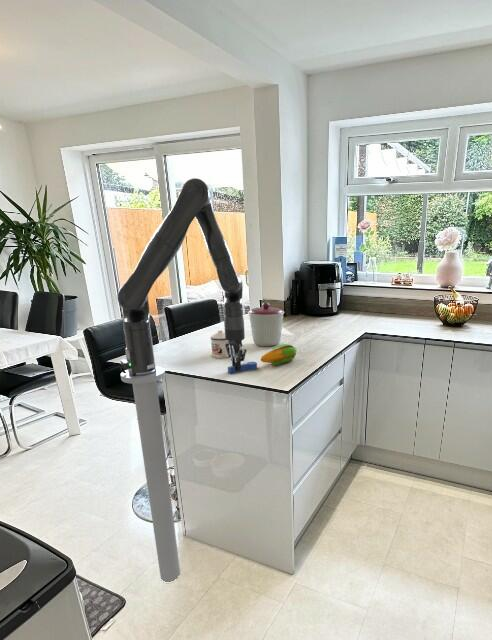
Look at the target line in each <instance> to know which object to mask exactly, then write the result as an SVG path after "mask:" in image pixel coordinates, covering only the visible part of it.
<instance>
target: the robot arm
mask: <svg viewBox="0 0 492 640" xmlns="http://www.w3.org/2000/svg"><path fill="white" fill-rule="evenodd" d="M211 198H212V196H211V191H210V188H209V186H208V185H207V183H206V182H205V181H203V180H202V179H200V178H198V177H197V178H196V177H195V178H194V177H193V178H189V179H188V180H186V181H185V182H184V184H183V185H182V186H181V190H180V191H179V194H178V196H177V198H176V200H175V202H174V204H173V206H172V208H171V209H170V211H169V213H168V214H167V215H166V216H165V218H164V219H163V220H162V222H161V223H160V225H159V226H158V228H157V229H156V230H155V232H154V234H153V236H152V237H151V238H150V240H149V242H148V243H147V245H146V246H145V249H144V251H143V253H142V254H141V257H140V259H139V261H138V262H137V265H136V267H135V269H134V270H133V272H132V273H131V275H130V276H129V277H128V279H127V280H126V281H125V282H124V284H123V285H122V286H121V287H120V288H119V289H118V291H117V301H118V304H119V306H120V307H121V309H122V327H123V334H124V341H125V346H126V348H124V352H125V357H126V359H121V360H120V366H119V371H120V372H121V373H122V372H123V373H126V371H125V370H128V372H129V373H130V374H131V375H132V376H143V375H149V374H152V373H155V372H156V368H155V366H156V361H155V354H154V344H153V337H152V329H151V313H150V303H149V296H148V295H149V294H150V291H151V289H152V288H153V285H154V284H155V283H156V281H157V280H158V278H159V277H160V276H161V275H162V274H163V273H164V272H165V270H166V269H167V268H168V267H169V265H170V264H171V263H172V261H173V260H174V259H175V257H176V255H177V253H178V252H179V250H180V249H181V246H182V245H183V242H184V240H185V238H186V235H187V233H188V230H189V228H190V226H191V224H192V223H193V221H194V219H196V221H197V223H198V225H199V227H200V230H201V233H202V235H203V239H204V242H205V245H206V248H207V251H208V253H209V256H210V258H211V260H212V263H213V265H214V267H215V271H216V274H217V278H218V281H219V284H220V287H221V289H222V291H224V303H223V315H224V317H223V325H224V327H223V328H224V333H225V339H226V340H228V344H225V346H226V349H227V353H228V356H229V357H228V359H230V361H231V366H235V371H241V364H242V362H244V361H245V357H246V353H247V349H246V348H244V347H243V346H244V345H243V340H245V338H246V334H245V333H246V332H245V319H244V309H243V307H244V306H243V289H244V287H243V285H244V284H243V280H242V279H243V278H241V276H240V275H239V274H237V271H236V269H235V266H234V260H233V257H232V254H231V251H230V249H229V247H228V244H227V242H226V239H225V237H224V235H223V233H222V230H221V228H220V226H219V224H218V221H217V218H216V216H215V215H216V214H215V212H214V208H213V204H212V199H211ZM241 372H242V371H241Z"/></svg>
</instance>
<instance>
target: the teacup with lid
mask: <svg viewBox="0 0 492 640" xmlns="http://www.w3.org/2000/svg"><path fill="white" fill-rule="evenodd" d="M210 344H211V356H212V357H213V358H217V359H224V358H229V356H228V353H227V349H226V346H225V344H228V340H226V339H225V331H223V330H222V329H219V330H218V331H217V332H215V333H214V334H212V335H210Z"/></svg>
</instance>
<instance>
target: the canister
mask: <svg viewBox="0 0 492 640" xmlns="http://www.w3.org/2000/svg"><path fill="white" fill-rule="evenodd" d="M247 314H248V315H249V316H248V317H249V323H250V329H251V330H250V331H251V335H252V341H253V343H254V344H255V345H256V346H259V347H275V346H278V345H279V344H280V342H281V337H282V330H283V319H284V314H285V311H284V310H282V309H281V308H279V307H273V306H271V305H270V303H269V302H267V301H266V302H265V301H264V302H263V303H262V307H261V306H260V307H254V308H252V309H250V310H249V311H247Z"/></svg>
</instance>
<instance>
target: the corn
mask: <svg viewBox="0 0 492 640" xmlns="http://www.w3.org/2000/svg"><path fill="white" fill-rule="evenodd" d="M297 353H298V350H297V348H296V347H295V346H293V345H291V344H289V343H283V344H280V345H279V344H278V345H275V346H272V347H271V348H270V351H267V352H265V353H264V354H263V355H261V357H260V361H261V362H262V363H267V364H268V363H269V364H270V365H271V366H279V365H282V364H286V363H289V362H291V361H293V360H294V359H295V357H296V356H297V355H296V354H297Z"/></svg>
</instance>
